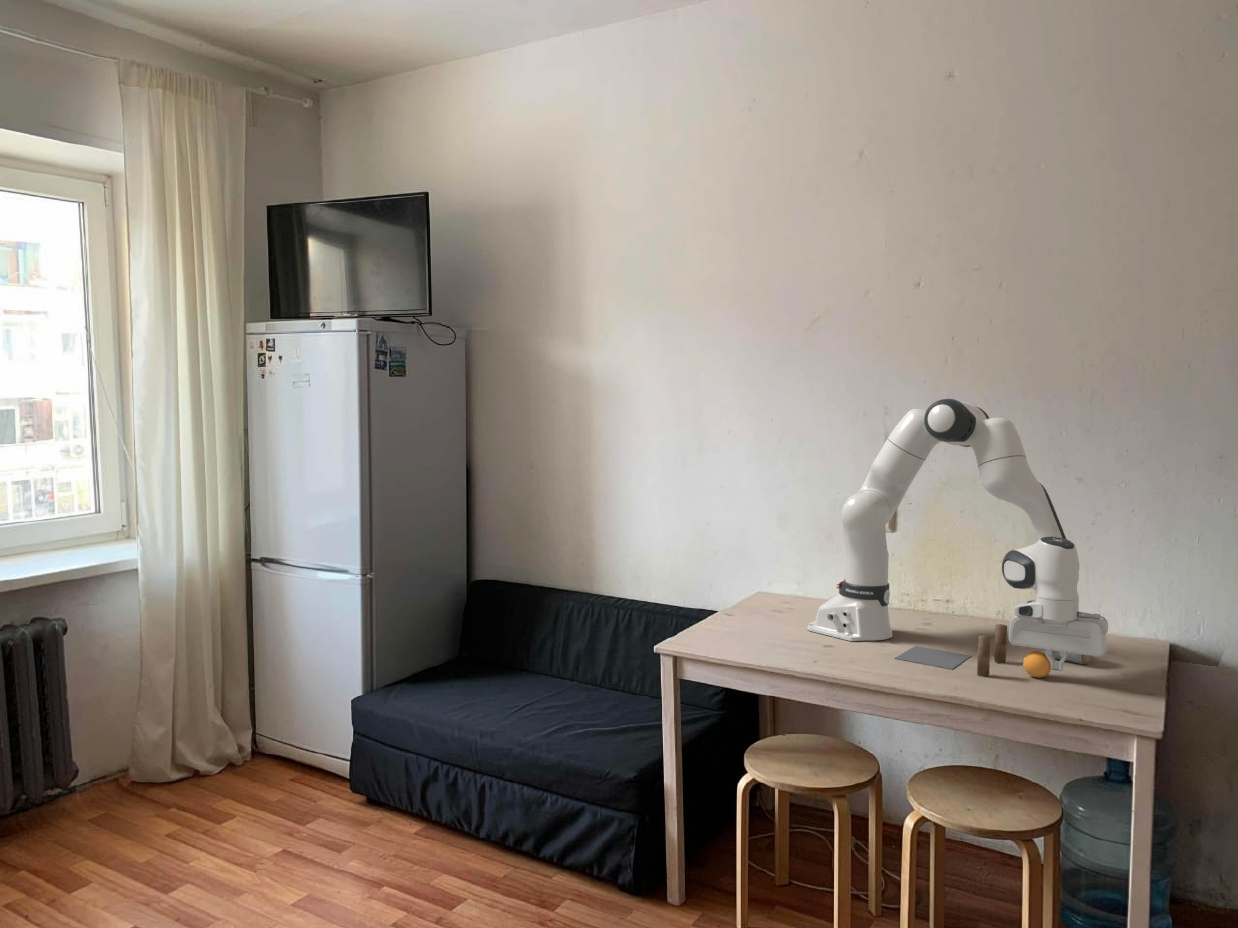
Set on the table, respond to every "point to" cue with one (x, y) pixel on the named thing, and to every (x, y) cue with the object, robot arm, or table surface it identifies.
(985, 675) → the post near
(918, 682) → the table surface
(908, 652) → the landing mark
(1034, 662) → the ball
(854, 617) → the robot arm
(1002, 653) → the post far
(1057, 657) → the grey cylinder
